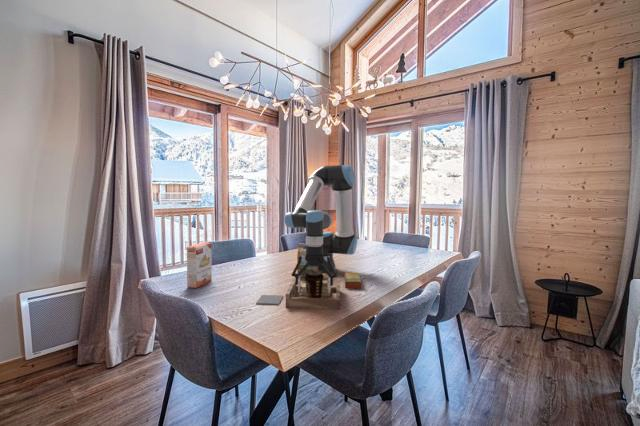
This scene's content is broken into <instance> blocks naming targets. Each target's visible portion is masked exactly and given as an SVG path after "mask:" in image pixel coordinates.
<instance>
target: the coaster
mask: <svg viewBox="0 0 640 426" xmlns="http://www.w3.org/2000/svg"><path fill="white" fill-rule="evenodd" d="M283 298H284V295H283V294H282V295H280V294H279V295H278V294H277V295H275V294H261V295H260V297H259V299H258V300H257V301H256V303H255V305H263V306H264V305H265V306H266V305H267V306H269V305H270V306H273V305H274V306H279V305H280V304H281V301H282V300H283Z"/></svg>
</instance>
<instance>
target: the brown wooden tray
mask: <svg viewBox="0 0 640 426" xmlns="http://www.w3.org/2000/svg"><path fill="white" fill-rule="evenodd" d="M302 286H303V285H300V292H301V290H302ZM330 288H331V293H336V294H335V295H336V298H330V297H328V298H327V297H326V298H324V297H323V298H322V297H321V298H307V297H295V295H296V293H297V292H298V285H296V278H295V277H293V278H292V281H291V283H290V284H289V286H288V288H287V290H286V292H285V308H290V309H291V308H292V309H314V310H315V309H316V308H317V309H319V308H320V309H321V310H322V308H324V309H323V310H340V309H341V279H340V278H337V279H336V286H330Z"/></svg>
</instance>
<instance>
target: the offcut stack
mask: <svg viewBox="0 0 640 426" xmlns="http://www.w3.org/2000/svg"><path fill="white" fill-rule="evenodd" d="M328 285H329V283H328V280H323V289H322V295H321V297H323V296H325V297H326V296H327V297H331V294H332V292H331V288H330V294H329V293H328ZM301 286H302V290H301V291H300V295H301V296H307V291H306V283H303V284H302V285H301Z"/></svg>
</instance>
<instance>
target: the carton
mask: <svg viewBox="0 0 640 426" xmlns="http://www.w3.org/2000/svg"><path fill="white" fill-rule="evenodd" d="M345 288H356V289H355V290H362V279H361V276H360V272H344V289H345Z"/></svg>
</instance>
